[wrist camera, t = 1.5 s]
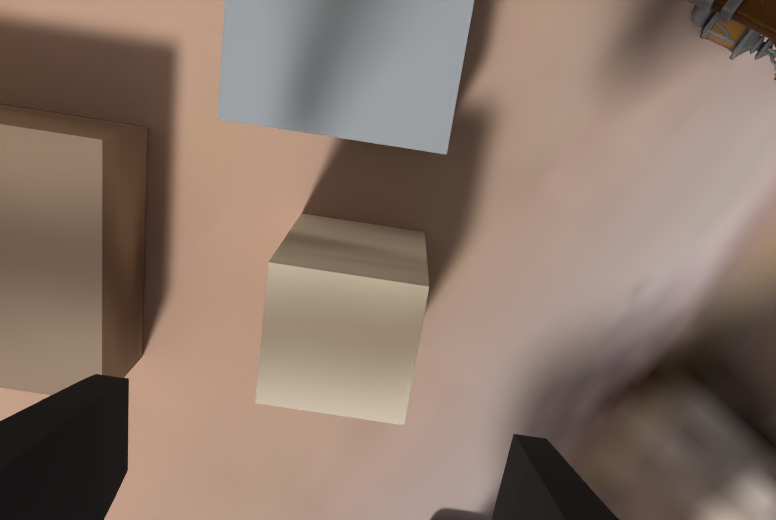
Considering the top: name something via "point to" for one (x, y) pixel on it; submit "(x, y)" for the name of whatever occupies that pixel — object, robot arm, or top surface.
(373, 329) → the maple block
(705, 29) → the toy blunderbuss
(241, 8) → the slate grey block
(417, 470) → the top surface
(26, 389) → the tan square slab
